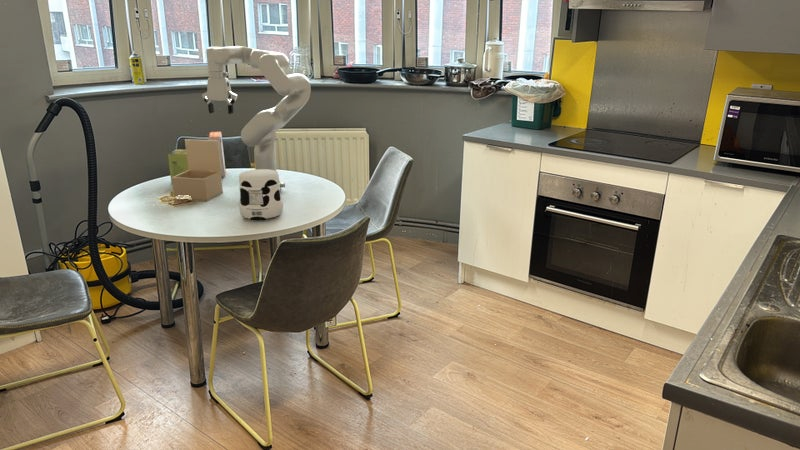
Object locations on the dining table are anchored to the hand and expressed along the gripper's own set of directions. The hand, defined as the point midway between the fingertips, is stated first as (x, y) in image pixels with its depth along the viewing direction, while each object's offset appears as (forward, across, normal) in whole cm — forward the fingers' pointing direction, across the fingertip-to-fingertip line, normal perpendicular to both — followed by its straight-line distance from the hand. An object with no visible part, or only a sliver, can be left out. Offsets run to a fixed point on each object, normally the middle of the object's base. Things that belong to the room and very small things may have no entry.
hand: (221, 113), depth 281 cm
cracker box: (+34, +14, -17) cm, 41 cm away
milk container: (+34, -37, +42) cm, 66 cm away
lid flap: (+17, +4, +13) cm, 22 cm away
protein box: (+35, +20, 0) cm, 40 cm away
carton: (+34, +4, +20) cm, 40 cm away
